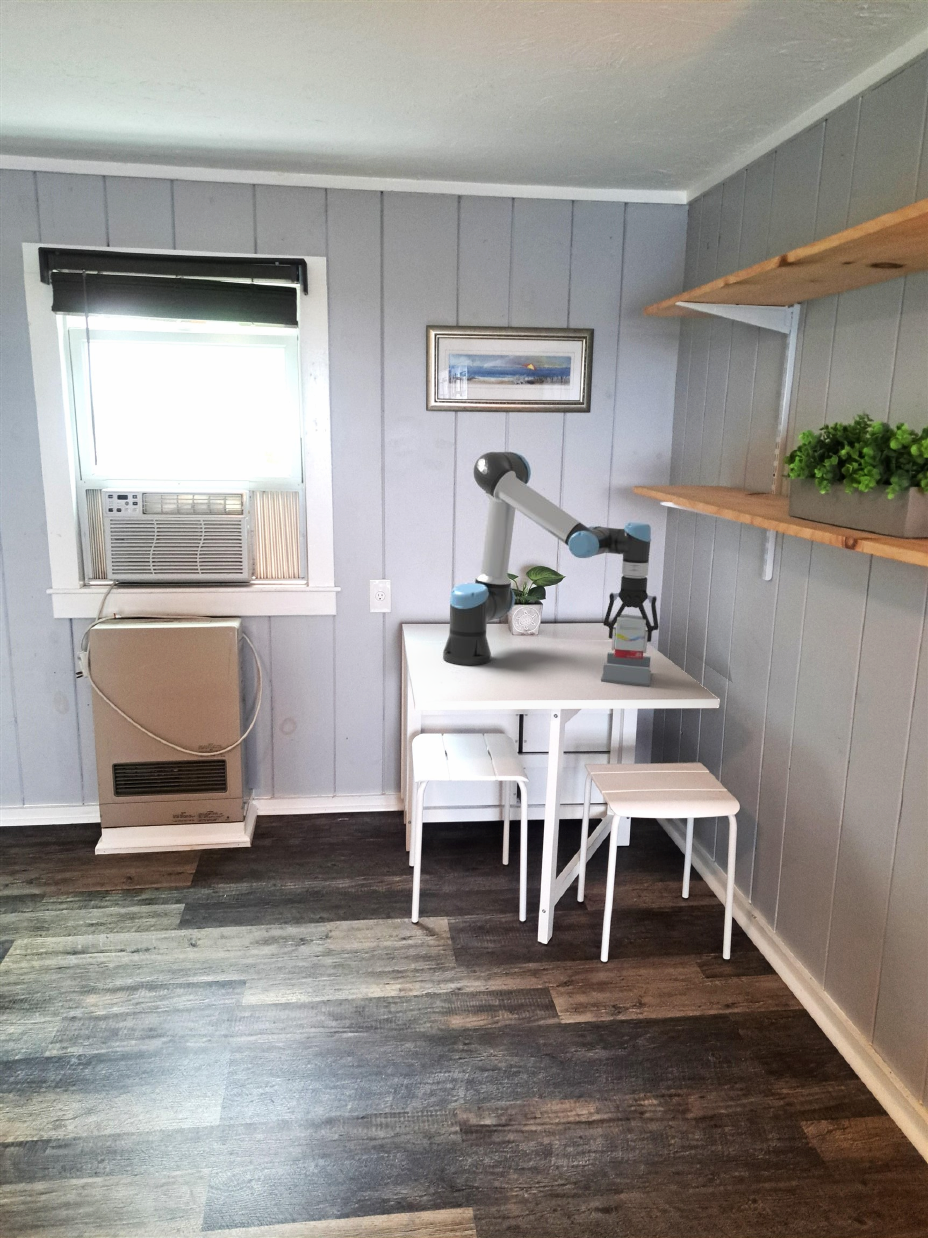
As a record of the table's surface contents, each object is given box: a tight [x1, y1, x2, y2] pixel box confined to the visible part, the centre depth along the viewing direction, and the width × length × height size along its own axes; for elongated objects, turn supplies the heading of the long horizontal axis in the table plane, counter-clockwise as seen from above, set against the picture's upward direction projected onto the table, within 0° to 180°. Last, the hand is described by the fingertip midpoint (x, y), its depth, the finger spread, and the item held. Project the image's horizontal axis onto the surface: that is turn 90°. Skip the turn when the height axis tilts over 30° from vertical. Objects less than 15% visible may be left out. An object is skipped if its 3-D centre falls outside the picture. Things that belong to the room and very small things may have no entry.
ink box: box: [613, 613, 647, 659], centre depth 250 cm, size 9×9×12 cm
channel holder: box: [600, 652, 652, 687], centre depth 252 cm, size 14×15×5 cm
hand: (628, 650), depth 251 cm, fingers closed on ink box, 9 cm apart
